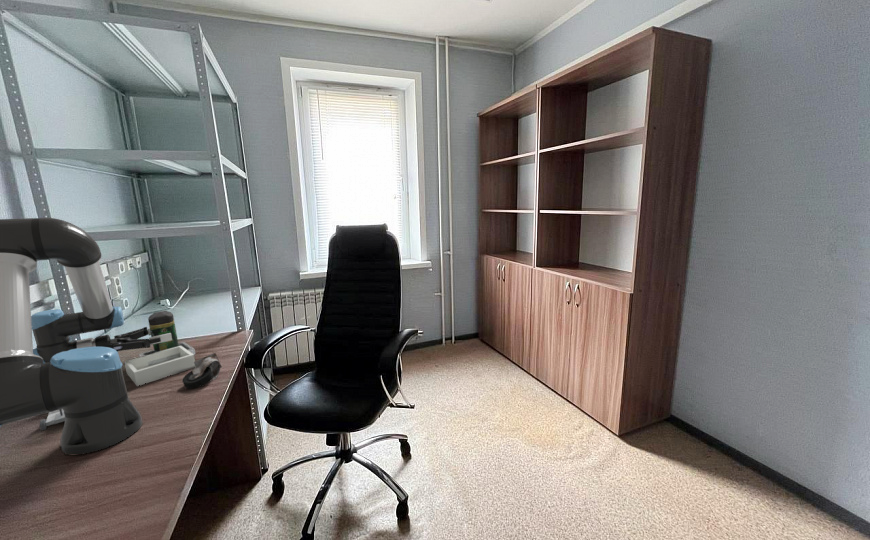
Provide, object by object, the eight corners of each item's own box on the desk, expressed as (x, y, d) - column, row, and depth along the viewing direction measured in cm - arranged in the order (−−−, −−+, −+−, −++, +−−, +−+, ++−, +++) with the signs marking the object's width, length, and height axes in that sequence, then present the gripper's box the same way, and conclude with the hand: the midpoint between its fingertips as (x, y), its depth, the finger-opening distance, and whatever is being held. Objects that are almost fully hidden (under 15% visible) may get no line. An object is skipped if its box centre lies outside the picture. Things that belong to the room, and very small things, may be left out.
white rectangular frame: (195, 354, 139) (194, 348, 138) (148, 368, 127) (147, 362, 127) (185, 347, 147) (184, 341, 147) (140, 359, 136) (139, 353, 135)
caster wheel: (189, 398, 111) (185, 383, 118) (227, 380, 117) (221, 366, 124) (181, 382, 108) (177, 367, 115) (220, 364, 114) (214, 351, 121)
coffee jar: (155, 356, 138) (147, 312, 135) (179, 350, 143) (172, 308, 140) (155, 364, 131) (146, 317, 128) (181, 358, 136) (173, 313, 133)
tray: (196, 367, 127) (193, 354, 126) (137, 386, 114) (134, 372, 113) (183, 357, 136) (180, 345, 136) (127, 374, 123) (124, 361, 123)
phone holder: (93, 387, 95) (30, 403, 88) (101, 419, 97) (39, 438, 90) (97, 366, 109) (42, 379, 101) (103, 394, 110) (50, 409, 103)
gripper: (100, 347, 133) (168, 333, 147) (95, 368, 115) (174, 349, 128) (96, 329, 132) (165, 316, 145) (91, 347, 113) (171, 330, 127)
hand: (170, 332), depth 137 cm, fingers open, 13 cm apart
